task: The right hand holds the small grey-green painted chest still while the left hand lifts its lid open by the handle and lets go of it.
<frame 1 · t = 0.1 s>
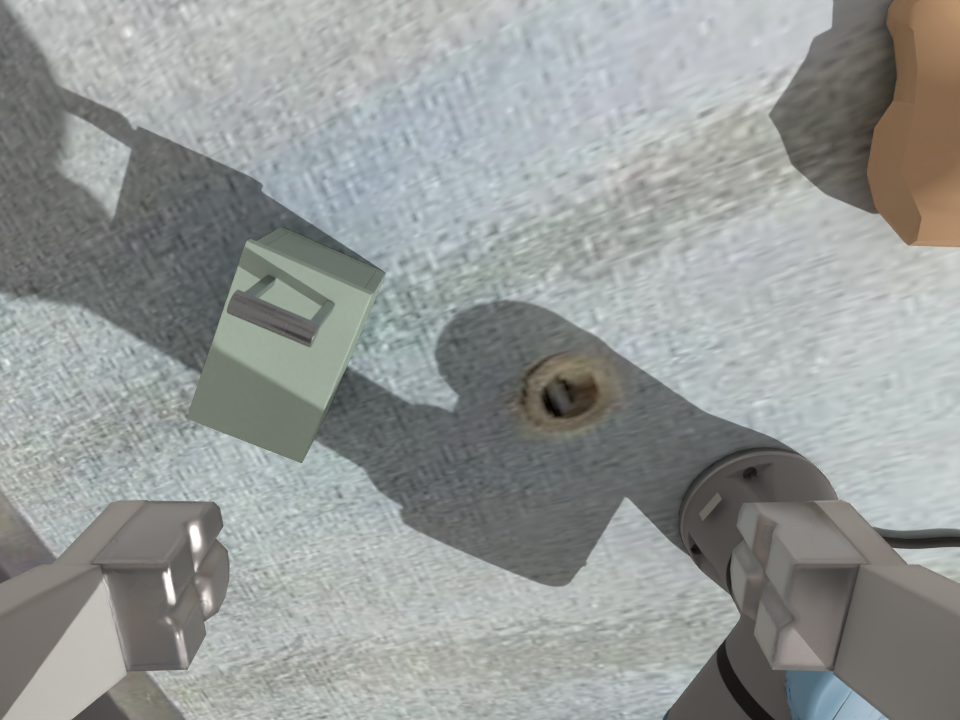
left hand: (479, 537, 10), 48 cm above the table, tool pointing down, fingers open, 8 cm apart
squash: (910, 120, 53), on the table
chest: (305, 324, 59), on the table
lid: (262, 374, 47), point 13 cm above the table, hinge at 0.0°
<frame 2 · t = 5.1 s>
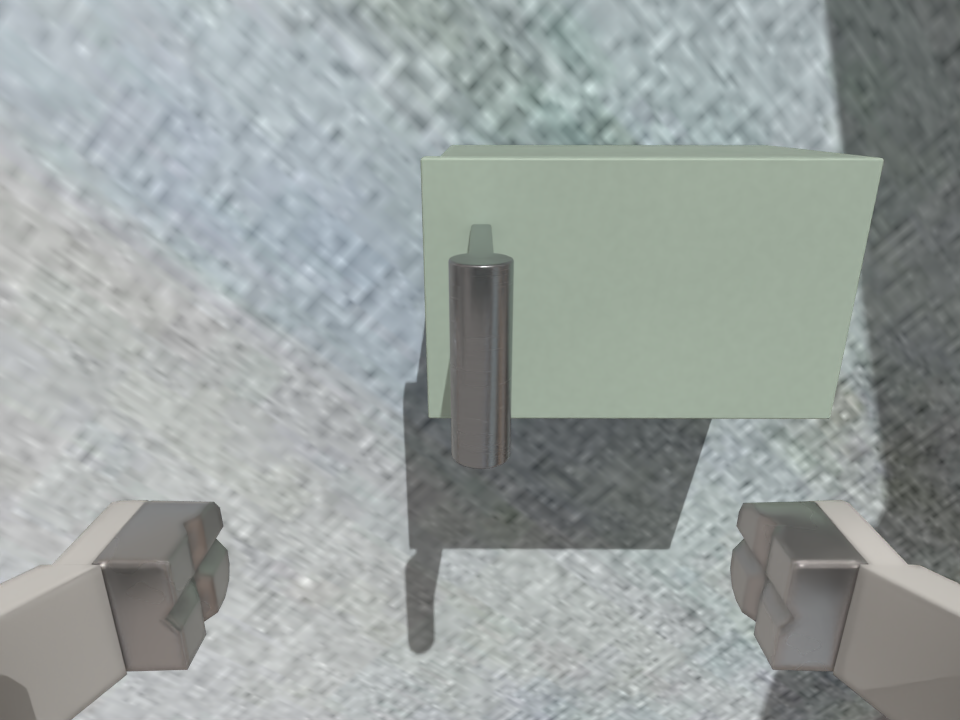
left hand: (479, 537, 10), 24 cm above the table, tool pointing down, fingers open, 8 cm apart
chest: (602, 247, 33), on the table
lid: (663, 325, 21), point 13 cm above the table, hinge at 0.0°
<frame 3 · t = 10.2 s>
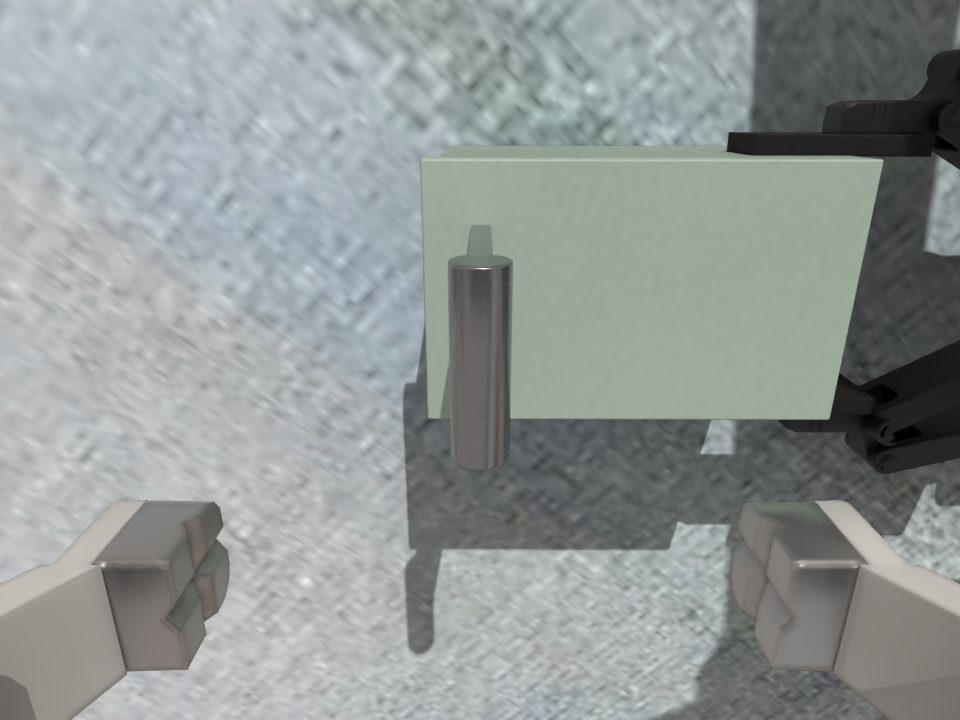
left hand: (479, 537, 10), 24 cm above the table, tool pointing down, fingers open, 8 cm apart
right hand: (722, 277, 27), fingers closed on chest, 10 cm apart
chest: (601, 247, 33), on the table, touching right hand
lid: (662, 326, 21), point 13 cm above the table, hinge at 0.0°
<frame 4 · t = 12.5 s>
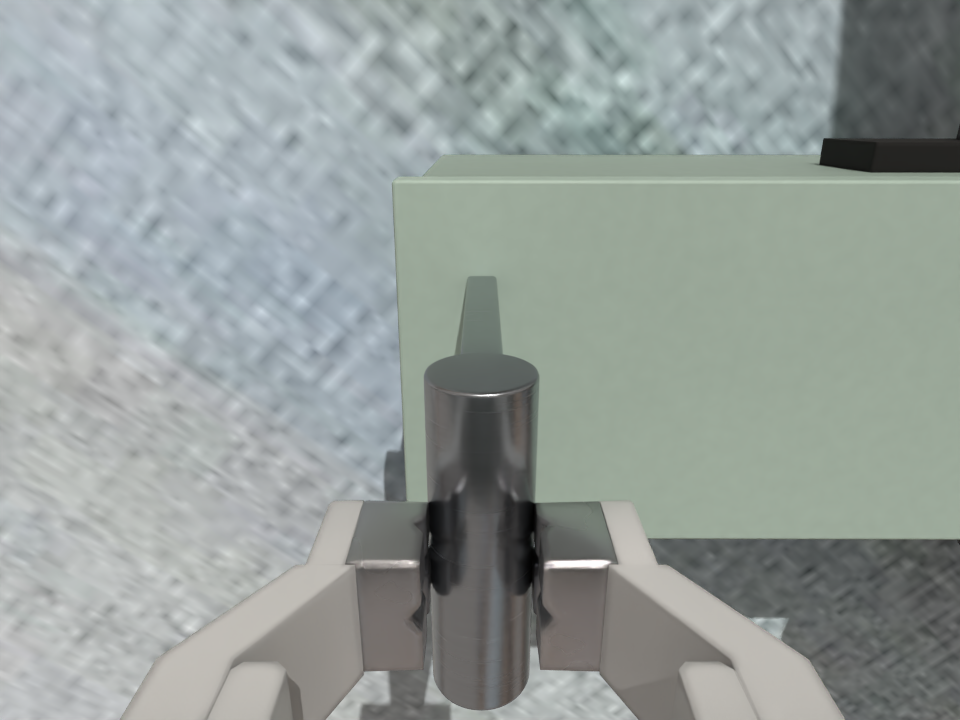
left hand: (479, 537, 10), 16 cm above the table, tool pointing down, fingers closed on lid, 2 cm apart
chest: (636, 284, 26), on the table, touching right hand
lid: (761, 438, 13), point 13 cm above the table, hinge at 0.0°, touching left hand
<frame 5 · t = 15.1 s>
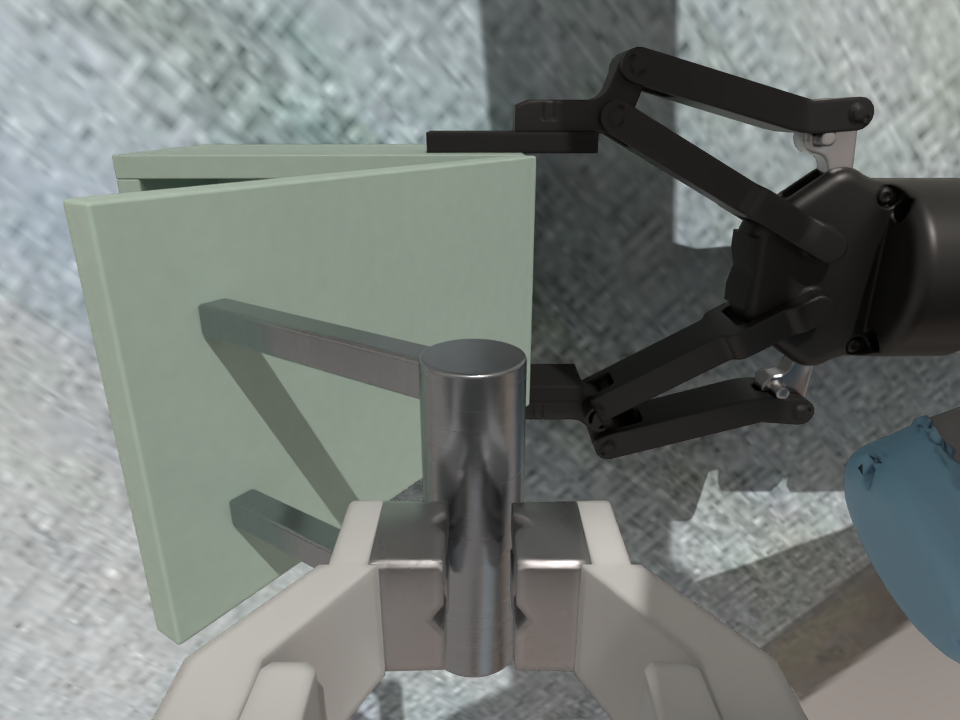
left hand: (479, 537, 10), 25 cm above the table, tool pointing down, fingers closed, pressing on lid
right hand: (432, 270, 28), fingers closed on chest, 10 cm apart
chest: (363, 243, 34), on the table, touching right hand
lid: (493, 368, 17), point 18 cm above the table, hinge at 55.1°, touching left hand
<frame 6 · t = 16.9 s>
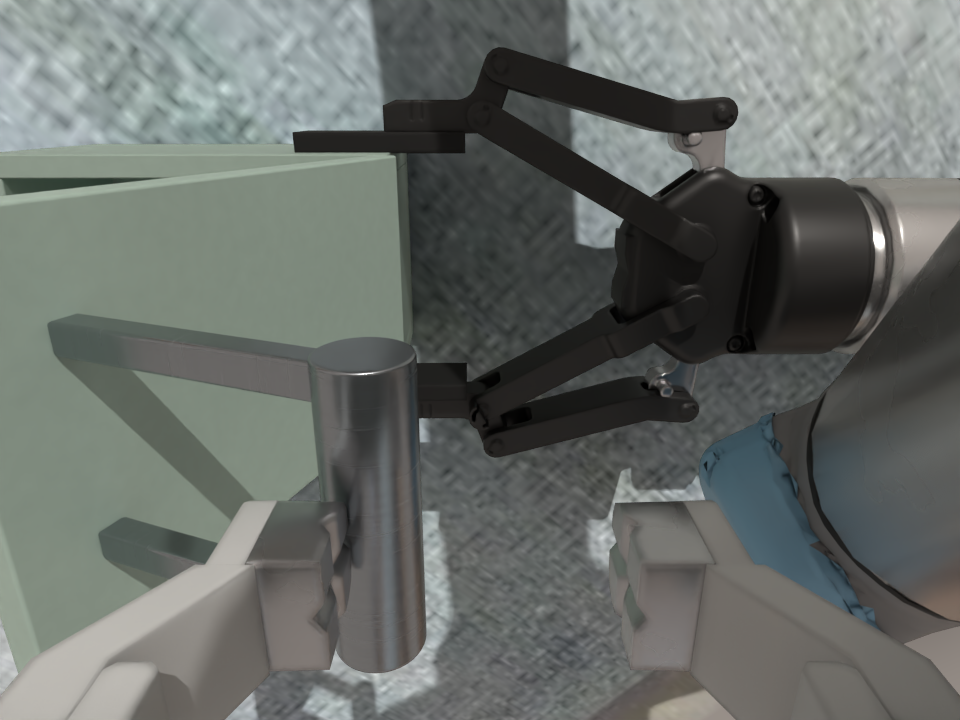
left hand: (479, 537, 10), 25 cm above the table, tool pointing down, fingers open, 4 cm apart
right hand: (313, 269, 28), fingers closed on chest, 10 cm apart
chest: (264, 242, 34), on the table, touching right hand
lid: (373, 367, 17), point 18 cm above the table, hinge at 67.2°, touching left hand
when the right hand's fingers open (6 cm above the table, at t = 20.0 s): chest stays where it is, on the table.
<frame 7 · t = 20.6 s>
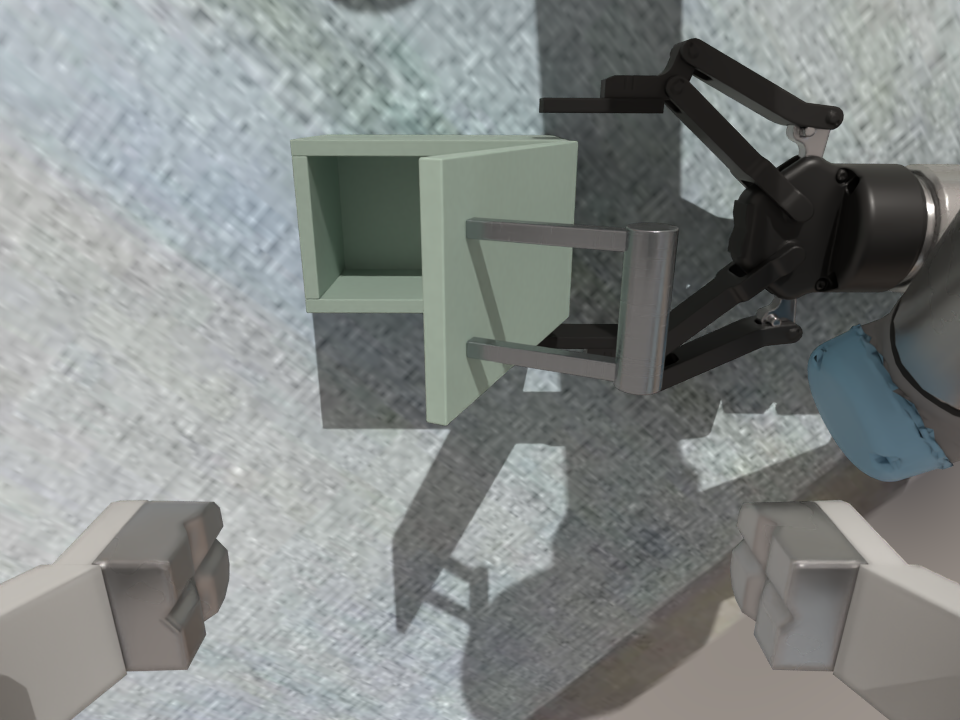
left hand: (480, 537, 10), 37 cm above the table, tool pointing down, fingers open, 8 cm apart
right hand: (536, 227, 39), fingers open, 13 cm apart
chest: (440, 209, 45), on the table
lid: (593, 266, 28), point 18 cm above the table, hinge at 65.6°
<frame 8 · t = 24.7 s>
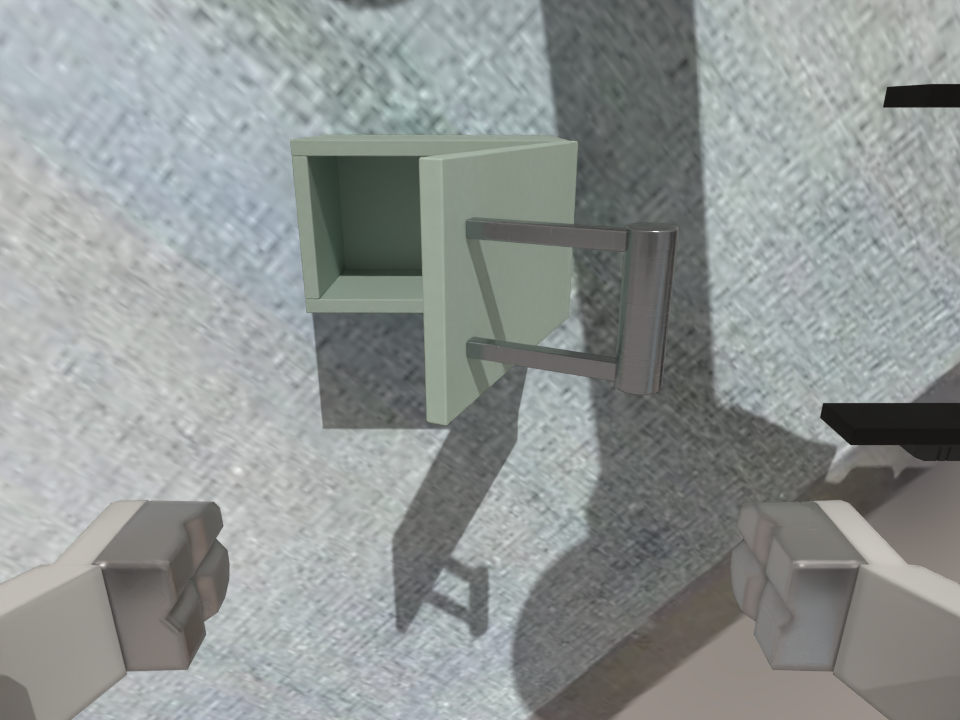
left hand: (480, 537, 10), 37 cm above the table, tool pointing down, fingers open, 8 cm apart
chest: (440, 209, 45), on the table
lid: (593, 266, 28), point 18 cm above the table, hinge at 65.6°
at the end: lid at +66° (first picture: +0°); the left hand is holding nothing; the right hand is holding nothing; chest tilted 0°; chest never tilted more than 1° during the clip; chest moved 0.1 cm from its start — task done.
